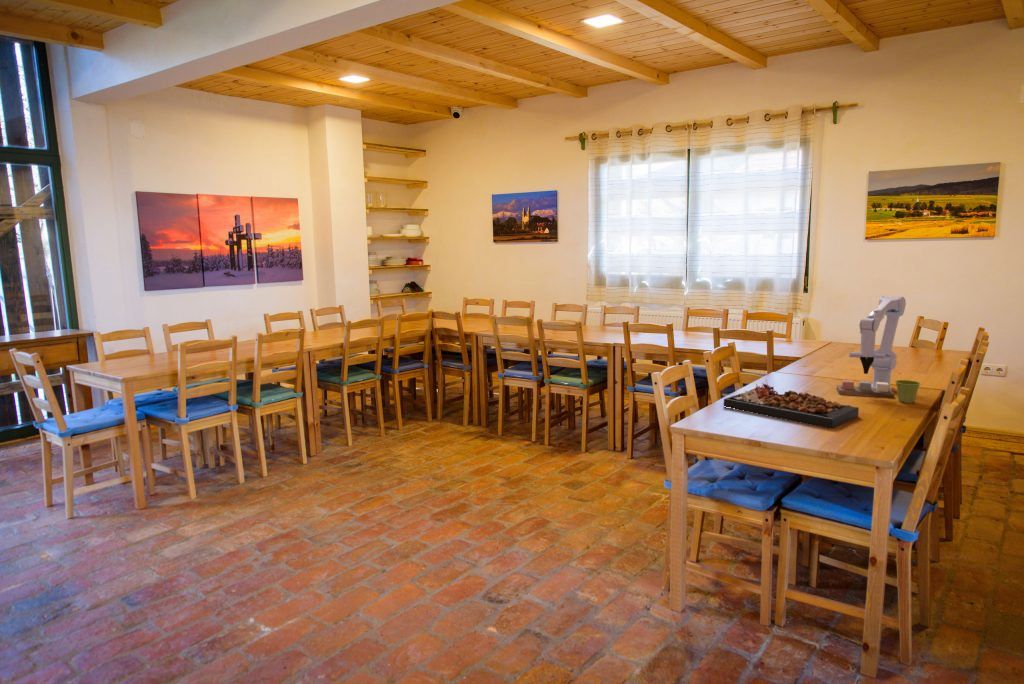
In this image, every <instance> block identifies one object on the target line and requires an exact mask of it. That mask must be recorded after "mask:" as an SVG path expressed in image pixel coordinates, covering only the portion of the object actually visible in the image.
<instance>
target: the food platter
mask: <svg viewBox="0 0 1024 684" xmlns="http://www.w3.org/2000/svg"><path fill="white" fill-rule="evenodd" d="M765 382H766V383H761V386H759V385H758V384H757V383H755V385H756V386H755V387H754V388H753V389H750V390H745V391H744V392H741V393H738V394H736V395H735V394H734V395H732V396H729V397H726V398H723V407H724V406H726V407H731V408H735V409H739V410H744V411H749V412H753V413H752V414H754V413H758V414H757V415H759V414H763V415H762V416H764V415H768V416H767V417H769V416H772V417H771V418H774V417H777V418H776V419H780V418H782V419H781V420H785V419H787V420H786V421H790V420H791V422H795V421H796V423H800V422H801V424H804V425H805V424H806V425H810V424H811V426H815V425H816V427H820V426H821V427H822V428H825V427H826V429H830V428H831V430H834V429H835V428H837V426H838V427H840V426H842V425H844V424H847V423H849V422H850V421H852V420H854V419H857V418H859V411H860V410H859V409H860V408H859V407H857V406H852V405H849V404H848V405H847V404H845V405H844V404H841V403H839V402H837V401H834V402H832V401H831V400H828V401H827V399H825V398H824V397H822V396H821V397H820V396H817V395H814V394H813V395H812V394H810V393H808V392H805V393H803V392H799V393H798V392H797V391H793V390H788V391H784V394H783V393H782V394H781V393H778V391H777V390H775V389H774V386H770V385H769V384H768V382H767V380H765ZM739 410H738V411H739ZM744 411H743V412H744ZM749 412H748V413H749Z"/></svg>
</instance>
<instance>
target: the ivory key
mask: <svg viewBox="0 0 1024 684" xmlns="http://www.w3.org/2000/svg"><path fill="white" fill-rule="evenodd" d="M875 389H876V391H881V392H888V391H889V384H888V383H886V382H876V387H875Z"/></svg>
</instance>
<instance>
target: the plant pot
mask: <svg viewBox="0 0 1024 684" xmlns="http://www.w3.org/2000/svg"><path fill="white" fill-rule="evenodd" d="M895 383H896V384H895V385H896V391H897V400H898V402H900V403H901V402H903V403H905V404H913V403H915V402H916V397H917V393H918V390H919V387H920V386H921V384H922V383H921V382H919V381H917V380H910V379H909V380H907V379H897V380H895Z"/></svg>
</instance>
